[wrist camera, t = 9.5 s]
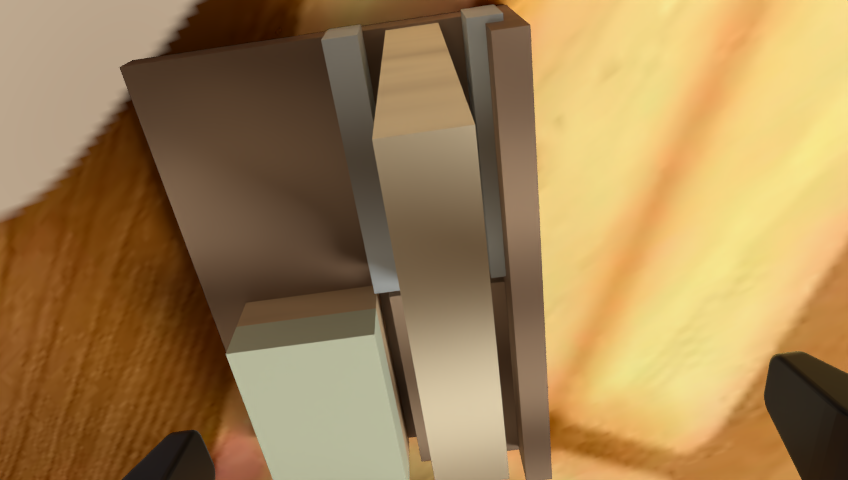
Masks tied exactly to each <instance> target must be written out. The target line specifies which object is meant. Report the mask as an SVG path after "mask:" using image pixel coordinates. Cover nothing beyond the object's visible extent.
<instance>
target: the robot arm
mask: <svg viewBox="0 0 848 480" xmlns="http://www.w3.org/2000/svg"><path fill="white" fill-rule="evenodd" d="M764 400H765V405H766V408H767V410H768V412H769V414H770V416H771V418H772V420H773V422H774V424H775V426H776V428H777V430H778V433H779V435H780V437H781V439H782V441H783V443H784V445H785V447H786V449H787V451H788V453H789V455H790V457H791V459H792V461H793V463H794V465H795V467H796V469H797V471H798V473H799V475H800V477H801V479H802V480H848V373H846V372H844V371H841V370H839V369H837V368H835V367H833V366H831V365H829V364H827V363H825V362H823V361H821V360H819V359H817V358H815V357H813V356H811V355H809V354H807V353H805V352H801V351H795V352H787V353H779V354H776V355H774V356H773V357H772V358H771V360H770V363H769V369H768V375H767V380H766V386H765V391H764ZM122 480H215V468H214V464H213V461H212V459H211V457H210V454H209V452H208V450H207V448H206V445H205V443H204V441H203V439H202V436H201V435H200V433H199V432H198V431H196V430H187V431H179V432H173V433H171V434H169V435H168V436H166V437H165V438H164V439H163V440H162V441H161V442H160V443H159V444H158V445H157V446H156V447H155V448H154V449H153V450H152V451H151V452H150V453H149V454H148V455H147V456H146V457H145V458H144V459H143V460H141V461H140V462H139V463H138V464H137V465H136V466H135V467H134V468H133V469H132V470H131V471H130V472H129V473H128V474H127V475H126V476H125V477H124V478H123V479H122Z"/></svg>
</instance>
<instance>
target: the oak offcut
mask: <svg viewBox="0 0 848 480" xmlns="http://www.w3.org/2000/svg"><path fill="white" fill-rule="evenodd" d="M374 308H376V311H377V315H378V320H379V325H380V329H381V334H382V339H383V344H384V348H385V353H386V358H387V363H388V367H389V372H390V377H391V381H392V386H393V391H394V396H395V400H396V405H397V410H398V414H399V419H400V424H401V429H402V433H403V438H404V443H405V447H406V452H407V457H408V462H409V436H408V431H407V426H406V422H405V417H404V412H403V407H402V402H401V397H400V392H399V388H398V383H397V378H396V373H395V368H394V363H393V358H392V354H391V349H390V344H389V339H388V334H387V329H386V324H385V320H384V315H383V310H382V305H381V300H380V295H379V293H377V294H374V289H373V286H367V287H360V288H352V289H345V290H338V291H330V292H323V293H315V294H308V295H300V296H293V297H285V298H278V299H271V300H263V301H256V302H248V303H246V304H245V307H244V309H243V312H242V314H241V317H240V319H239V322H238V324H237V327H239V326H247V325H254V324H262V323H269V322H277V321H284V320H292V319H299V318H307V317H314V316H322V315H329V314H337V313H344V312H352V311H360V310H367V309H374Z"/></svg>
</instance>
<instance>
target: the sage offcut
mask: <svg viewBox="0 0 848 480" xmlns="http://www.w3.org/2000/svg"><path fill="white" fill-rule="evenodd" d="M226 356H227V359H228V362H229V364H230V367H231V370H232V372H233V375H234V378H235V380H236V383H237V386H238V388H239V391H240V394H241V396H242V399H243V402H244V404H245V407H246V410H247V412H248V415H249V418H250V420H251V423H252V426H253V428H254V431H255V434H256V436H257V439H258V442H259V444H260V447H261V450H262V452H263V455H264V458H265V460H266V463H267V465H268V468H269V471H270V473H271V476H272V479H273V480H410V476H409V462H408V457H407V452H406V447H405V443H404V438H403V433H402V429H401V424H400V419H399V414H398V410H397V405H396V400H395V396H394V391H393V386H392V381H391V377H390V372H389V367H388V363H387V358H386V353H385V348H384V344H383V339H382V334H381V329H380V325H379V320H378V315H377V311H376V308H374V309H367V310H360V311H352V312H344V313H337V314H329V315H322V316H314V317H307V318H299V319H292V320H284V321H277V322H269V323H262V324H254V325H247V326H239V327H236V329H235V332H234V334H233V337H232V339H231V342H230V344H229V347H228V349H227V352H226Z"/></svg>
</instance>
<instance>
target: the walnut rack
mask: <svg viewBox="0 0 848 480" xmlns="http://www.w3.org/2000/svg"><path fill="white" fill-rule="evenodd" d="M460 10H461V11H460V12H453V13H446V14H440V15H433V16H426V17H419V18H413V19H406V20H399V21H393V22H386V23H379V24H372V25H366V26H361V24H359V25H352V26H346V27H339V28H332V29H328V30H327V31H326V32H319V33H312V34H305V35H299V36H292V37H285V38H279V39H272V40H265V41H258V42H252V43H245V44H238V45H232V46H225V47H218V48H211V49H205V50H198V51H191V52H185V53H178V54H171V55H164V56H158V57H151V58H144V59H138V60H132V61H130V62H128V63H127V64H125V65H123V66H121V67H120V70H121V72H122V75H123V78H124V81H125V83H126V86H127V89H128V91H129V94H130V97H131V99H132V102H133V105H134V107H135V110H136V113H137V115H138V118H139V121H140V123H141V126H142V129H143V131H144V134H145V137H146V139H147V142H148V145H149V147H150V150H151V153H152V155H153V158H154V161H155V163H156V166H157V169H158V171H159V174H160V177H161V179H162V182H163V185H164V187H165V190H166V193H167V195H168V198H169V201H170V203H171V206H172V209H173V211H174V214H175V217H176V219H177V222H178V225H179V227H180V230H181V233H182V235H183V238H184V241H185V243H186V246H187V249H188V251H189V254H190V257H191V259H192V262H193V265H194V267H195V270H196V273H197V275H198V278H199V281H200V283H201V286H202V289H203V291H204V294H205V297H206V299H207V302H208V305H209V307H210V310H211V313H212V315H213V318H214V321H215V323H216V326H217V329H218V331H219V334H220V337H221V339H222V342H223V345H224V347H225V350H226V352H227V349H228V347H229V344H230V342H231V339H232V337H233V334H234V332H235V329H236V327H237V324H238V322H239V319H240V317H241V314H242V312H243V309H244V307H245V304H246V303H248V302H256V301H263V300H271V299H278V298H285V297H293V296H300V295H308V294H315V293H323V292H330V291H338V290H345V289H352V288H360V287H367V286H373V289H374V294H377V293H379V295H380V300H381V305H382V310H383V315H384V320H385V324H386V329H387V334H388V339H389V344H390V349H391V354H392V358H393V363H394V368H395V373H396V378H397V383H398V388H399V392H400V397H401V402H402V407H403V412H404V417H405V422H406V426H407V431H408V436H409V438H410V437H417V440H418V445H419V450H420V455H421V461H429V460H431V456H430V450H429V445H428V440H427V434H426V429H425V423H424V418H423V413H422V407H421V402H420V396H419V391H418V385H417V380H416V375H415V369H414V364H413V358H412V353H411V348H410V342H409V337H408V331H407V326H406V320H405V315H404V310H403V304H402V299H401V293H400V288H399V283H398V277H397V272H396V266H395V261H394V255H393V250H392V245H391V239H390V234H389V228H388V223H387V217H386V212H385V207H384V201H383V196H382V190H381V185H380V180H379V174H378V169H377V163H376V158H375V152H374V147H373V142H372V136H373V128H374V119H375V111H376V103H377V95H378V87H379V79H380V71H381V63H382V55H383V47H384V39H385V30H391V29H398V28H405V27H412V26H418V25H425V24H432V23H439V26H440V29H441V32H442V35H443V37H444V40H445V43H446V46H447V48H448V51H449V54H450V57H451V59H452V62H453V65H454V68H455V70H456V73H457V76H458V79H459V81H460V84H461V87H462V90H463V92H464V95H465V98H466V101H467V103H468V106H469V109H470V112H471V115H472V117H473V120H474V123H475V128H476V138H477V149H478V159H479V169H480V180H481V190H482V200H483V211H484V221H485V231H486V242H487V252H488V262H489V273H490V283H491V293H492V304H493V314H494V324H495V335H496V345H497V355H498V366H499V376H500V386H501V397H502V407H503V417H504V428H505V438H506V448H507V451H510V450H518V449H519V451H520V455H521V460H522V464H523V469H524V473H525V478H526V480H546V479H552V468H551V447H550V426H549V405H548V384H547V363H546V343H545V322H544V301H543V280H542V259H541V238H540V217H539V196H538V175H537V155H536V134H535V113H534V92H533V71H532V50H531V29H530V24H528V23H527V22H526V21H525V20H524V19H522V18H521V17H520V16H519V15H518V14H516V13H515V12H514V11H513V10H512V9H510V8H509V7H508V6H507V5H500V6H495V5H494V4H493V5H486V6H480V7H473V8H466V9H460Z"/></svg>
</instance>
